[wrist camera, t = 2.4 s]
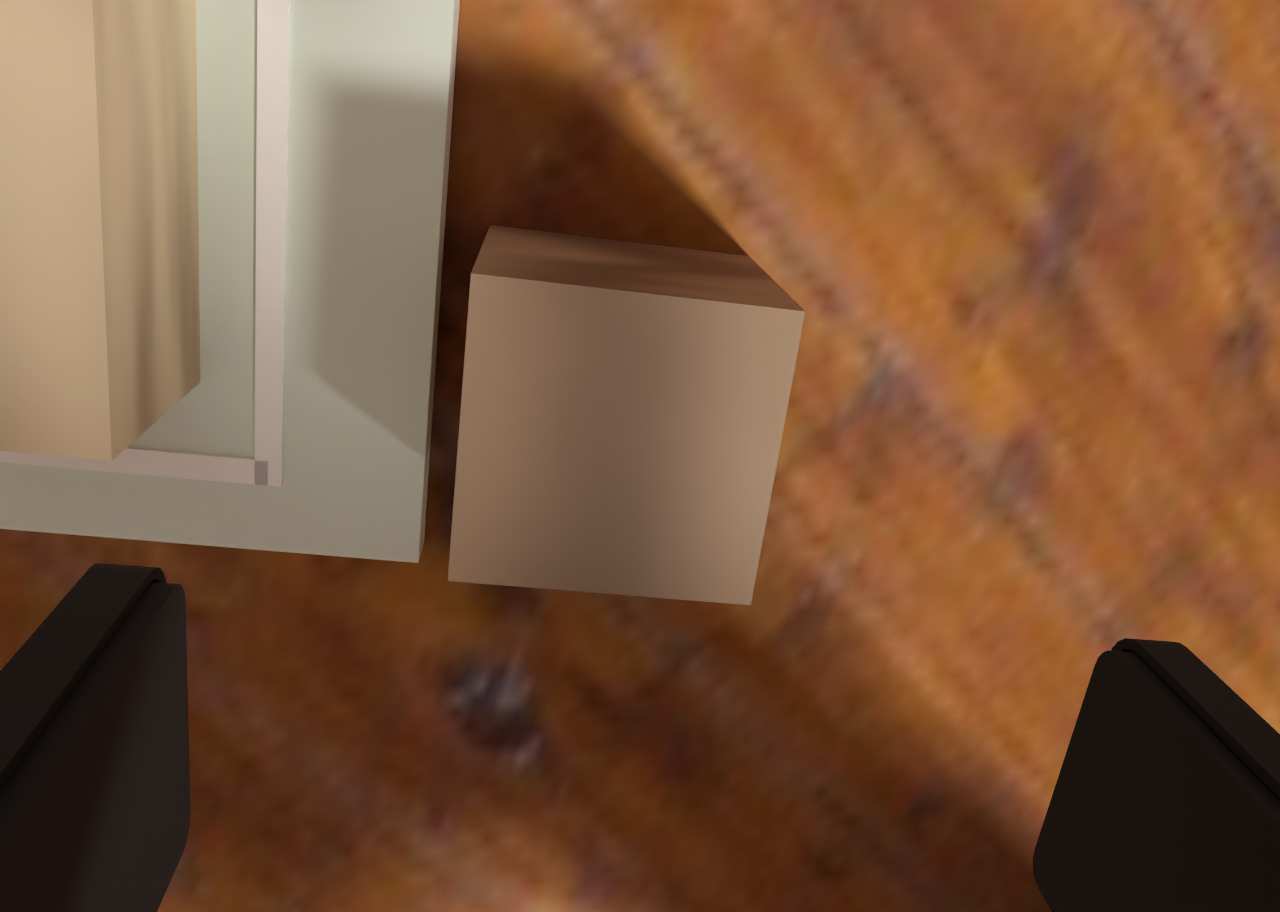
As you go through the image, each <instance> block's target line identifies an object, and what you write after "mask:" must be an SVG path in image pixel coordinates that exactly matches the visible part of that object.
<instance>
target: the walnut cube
mask: <svg viewBox="0 0 1280 912" xmlns="http://www.w3.org/2000/svg"><path fill="white" fill-rule="evenodd" d="M804 315H805V311H804V310H803V309H802V308H801V307H800V306H799V305H798V304H797V303H796V302H795V301H794V300H793V299H792V298H791V297H790V296H789V295H788V294H787V293H786V292H785V291H784V290H783V289H782V288H781V287H780V286H779V285H778V284H777V283H776V282H775V281H774V280H773V279H772V278H771V277H770V276H769V275H768V274H767V273H766V272H765V271H764V270H763V269H762V268H761V267H759V266H758V265H757V264H756V263H755V262H754V261H753V260H752V259H751V258H750V257H749V256H746V255H737V254H729V253H721V252H712V251H704V250H696V249H687V248H679V247H670V246H662V245H654V244H645V243H637V242H629V241H620V240H612V239H604V238H595V237H587V236H579V235H570V234H562V233H553V232H545V231H537V230H528V229H520V228H512V227H503V226H495V225H490V227H489V229H488V232H487V234H486V237H485V239H484V242H483V244H482V247H481V249H480V252H479V254H478V257H477V259H476V262H475V264H474V267H473V269H472V272H471V278H470V291H469V305H468V318H467V331H466V344H465V358H464V371H463V384H462V397H461V411H460V424H459V437H458V450H457V464H456V477H455V490H454V503H453V517H452V530H451V543H450V556H449V570H448V581H454V582H466V583H479V584H491V585H503V586H516V587H528V588H541V589H553V590H566V591H578V592H591V593H603V594H616V595H628V596H641V597H653V598H666V599H678V600H691V601H703V602H715V603H728V604H740V605H751V601H752V596H753V591H754V585H755V580H756V574H757V569H758V564H759V558H760V553H761V547H762V542H763V537H764V531H765V526H766V520H767V515H768V510H769V504H770V499H771V494H772V488H773V483H774V477H775V472H776V467H777V461H778V456H779V450H780V445H781V440H782V434H783V429H784V423H785V418H786V413H787V407H788V402H789V396H790V391H791V386H792V380H793V375H794V369H795V364H796V359H797V353H798V348H799V342H800V337H801V332H802V326H803V321H804Z"/></svg>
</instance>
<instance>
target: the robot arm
mask: <svg viewBox="0 0 1280 912" xmlns="http://www.w3.org/2000/svg"><path fill="white" fill-rule="evenodd" d="M189 824H190V777H189V735H188V694H187V653H186V612H185V593H184V590H183V587H182V586H181V585H180V584H168V583H166V579H165V576H164V573H163V571H162V570H161V569H160V568H156V567H142V566H129V565H115V564H101V563H96V564H94V565H93V566H92V567H90V568H89V570H88V571H87V572H86V573H85V574H84V575H83V576H82V578H81V579H80V580H79V581H78V582H77V583H76V585H75V586H74V587H73V588H72V589H71V590H70V592H69V593H68V594H67V595H66V596H65V597H64V598H63V600H62V601H61V602H60V603H59V604H58V605H57V607H56V608H55V609H54V610H53V611H52V612H51V613H50V615H49V616H48V617H47V618H46V619H45V620H44V622H43V623H42V624H41V625H40V626H39V627H38V628H37V630H36V631H35V632H34V633H33V634H32V635H31V637H30V638H29V639H28V640H27V641H26V642H25V644H24V645H23V646H22V647H21V648H20V649H19V650H18V652H17V653H16V654H15V655H14V656H13V657H12V659H11V660H10V661H9V662H8V663H7V664H6V665H5V667H4V668H3V669H2V670H1V671H0V912H157V910H158V908H159V905H160V903H161V901H162V899H163V896H164V894H165V892H166V890H167V887H168V885H169V883H170V881H171V878H172V876H173V874H174V872H175V869H176V867H177V865H178V863H179V860H180V858H181V856H182V853H183V850H184V848H185V844H186V840H187V836H188V831H189ZM1033 868H1034V875H1035V879H1036V883H1037V885H1038V887H1039V890H1040V892H1041V893H1042V895H1043V897H1044V898H1045V900H1046V902H1047V903H1048V905H1049V907H1050V908H1051V910H1052V912H1280V734H1279V733H1278V732H1277V731H1276V730H1275V729H1273V728H1272V727H1271V726H1270V725H1269V724H1268V723H1267V722H1266V721H1265V720H1264V719H1263V718H1262V717H1261V716H1260V715H1258V714H1257V713H1256V712H1255V711H1254V710H1253V709H1252V708H1251V707H1250V706H1249V705H1248V704H1247V703H1246V702H1245V701H1243V700H1242V699H1241V698H1240V697H1239V696H1238V695H1237V694H1236V693H1235V692H1234V691H1233V690H1232V689H1231V688H1230V687H1228V686H1227V685H1226V684H1225V683H1224V682H1223V681H1222V680H1221V679H1220V678H1219V677H1218V676H1217V675H1216V674H1215V673H1213V672H1212V671H1211V670H1210V669H1209V668H1208V667H1207V666H1206V665H1205V664H1204V663H1203V662H1202V661H1201V660H1200V659H1198V658H1197V657H1196V656H1195V655H1194V654H1193V653H1192V652H1191V651H1190V650H1189V649H1188V648H1187V647H1185V646H1184V645H1182V644H1180V643H1177V642H1168V641H1154V640H1140V639H1126V638H1125V639H1123V640H1120V641H1118V642H1117V643H1116V645H1115V646H1114V647H1113V648H1112V650H1111V651H1106V652H1104V653H1102V654H1101V655H1100V656H1099V658H1098V660H1097V662H1096V664H1095V667H1094V670H1093V673H1092V676H1091V679H1090V682H1089V685H1088V688H1087V691H1086V694H1085V697H1084V700H1083V703H1082V707H1081V710H1080V713H1079V716H1078V719H1077V722H1076V725H1075V728H1074V731H1073V734H1072V737H1071V740H1070V743H1069V746H1068V749H1067V752H1066V756H1065V759H1064V762H1063V765H1062V768H1061V771H1060V774H1059V777H1058V780H1057V783H1056V786H1055V789H1054V792H1053V795H1052V798H1051V801H1050V805H1049V808H1048V811H1047V814H1046V817H1045V820H1044V823H1043V826H1042V829H1041V832H1040V835H1039V838H1038V841H1037V844H1036V847H1035V851H1034V856H1033Z"/></svg>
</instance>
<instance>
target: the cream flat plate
mask: <svg viewBox="0 0 1280 912" xmlns="http://www.w3.org/2000/svg"><path fill="white" fill-rule="evenodd" d="M459 5H460V0H196V49H197V134H198V218H199V303H200V383H199V384H198V385H197V386H195V387H194V388H193V389H192V390H191V391H190V392H189V393H188V394H186V395H185V396H184V397H183V398H182V399H181V400H180V401H179V402H177V403H176V404H175V405H174V406H173V407H172V408H171V409H170V410H168V411H167V412H166V413H165V414H164V415H163V416H162V417H161V418H159V419H158V420H157V421H156V422H155V423H154V424H153V425H152V426H150V427H149V428H148V429H147V430H146V431H145V432H144V433H143V434H141V435H140V436H139V437H138V438H137V439H136V440H135V441H134V442H132V443H131V444H130V445H129V446H128V447H127V448H126V449H125V450H124V451H122V452H121V453H120V454H119V455H118V456H117V457H116V458H115V459H113V460H112V461H107V460H96V459H85V458H74V457H63V456H52V455H41V454H29V453H18V452H7V451H0V529H9V530H22V531H34V532H46V533H58V534H70V535H83V536H95V537H107V538H119V539H131V540H144V541H156V542H168V543H180V544H193V545H205V546H217V547H229V548H241V549H254V550H266V551H278V552H290V553H302V554H315V555H327V556H339V557H351V558H363V559H376V560H388V561H400V562H412V563H418V562H419V559H420V555H421V552H422V548H423V544H424V536H425V521H426V506H427V491H428V476H429V461H430V445H431V430H432V415H433V400H434V385H435V369H436V354H437V339H438V324H439V309H440V293H441V278H442V263H443V248H444V233H445V218H446V202H447V187H448V172H449V157H450V142H451V126H452V111H453V96H454V81H455V66H456V51H457V35H458V20H459Z"/></svg>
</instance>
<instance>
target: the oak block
mask: <svg viewBox="0 0 1280 912" xmlns="http://www.w3.org/2000/svg"><path fill="white" fill-rule="evenodd" d="M199 383H200V303H199V218H198V134H197V49H196V0H0V451H7V452H18V453H29V454H41V455H52V456H63V457H74V458H85V459H96V460H107V461H112V460H113V459H115V458H116V457H117V456H118V455H119V454H120V453H121V452H122V451H124V450H125V449H126V448H127V447H128V446H129V445H130V444H131V443H132V442H134V441H135V440H136V439H137V438H138V437H139V436H140V435H141V434H143V433H144V432H145V431H146V430H147V429H148V428H149V427H150V426H152V425H153V424H154V423H155V422H156V421H157V420H158V419H159V418H161V417H162V416H163V415H164V414H165V413H166V412H167V411H168V410H170V409H171V408H172V407H173V406H174V405H175V404H176V403H177V402H179V401H180V400H181V399H182V398H183V397H184V396H185V395H186V394H188V393H189V392H190V391H191V390H192V389H193V388H194V387H195V386H197V385H198V384H199Z"/></svg>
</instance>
